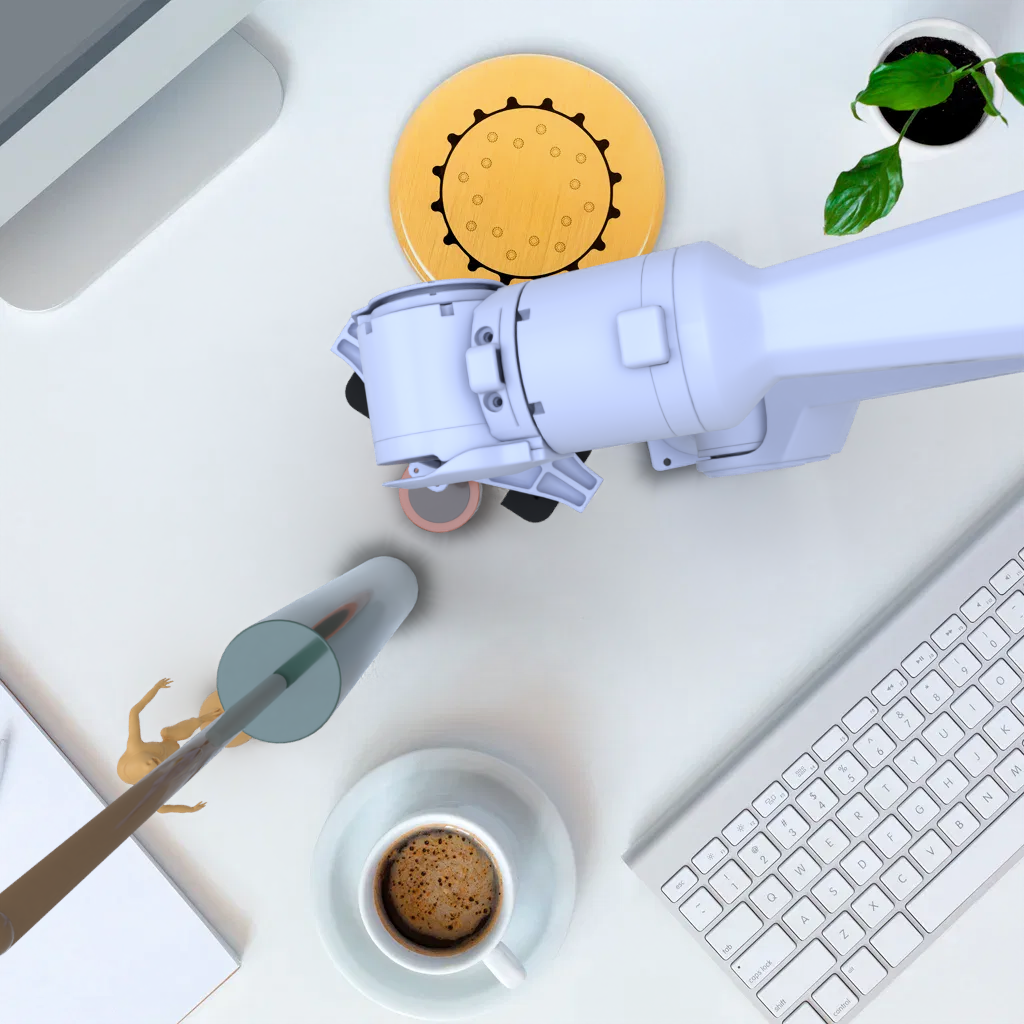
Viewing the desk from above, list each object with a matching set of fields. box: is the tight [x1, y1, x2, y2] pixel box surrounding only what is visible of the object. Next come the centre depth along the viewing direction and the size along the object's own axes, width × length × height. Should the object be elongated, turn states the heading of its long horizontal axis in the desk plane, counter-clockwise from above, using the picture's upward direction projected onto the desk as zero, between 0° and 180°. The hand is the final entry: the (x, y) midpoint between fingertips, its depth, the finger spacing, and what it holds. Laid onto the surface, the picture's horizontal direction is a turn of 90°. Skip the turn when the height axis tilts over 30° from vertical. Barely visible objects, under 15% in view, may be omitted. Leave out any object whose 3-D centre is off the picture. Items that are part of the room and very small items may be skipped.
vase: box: [0, 555, 419, 957], centre depth 40 cm, size 5×5×50 cm
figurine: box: [116, 677, 252, 814], centre depth 59 cm, size 8×6×12 cm
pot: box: [398, 465, 483, 534], centre depth 62 cm, size 5×5×6 cm
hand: (474, 425), depth 55 cm, fingers open, 7 cm apart
